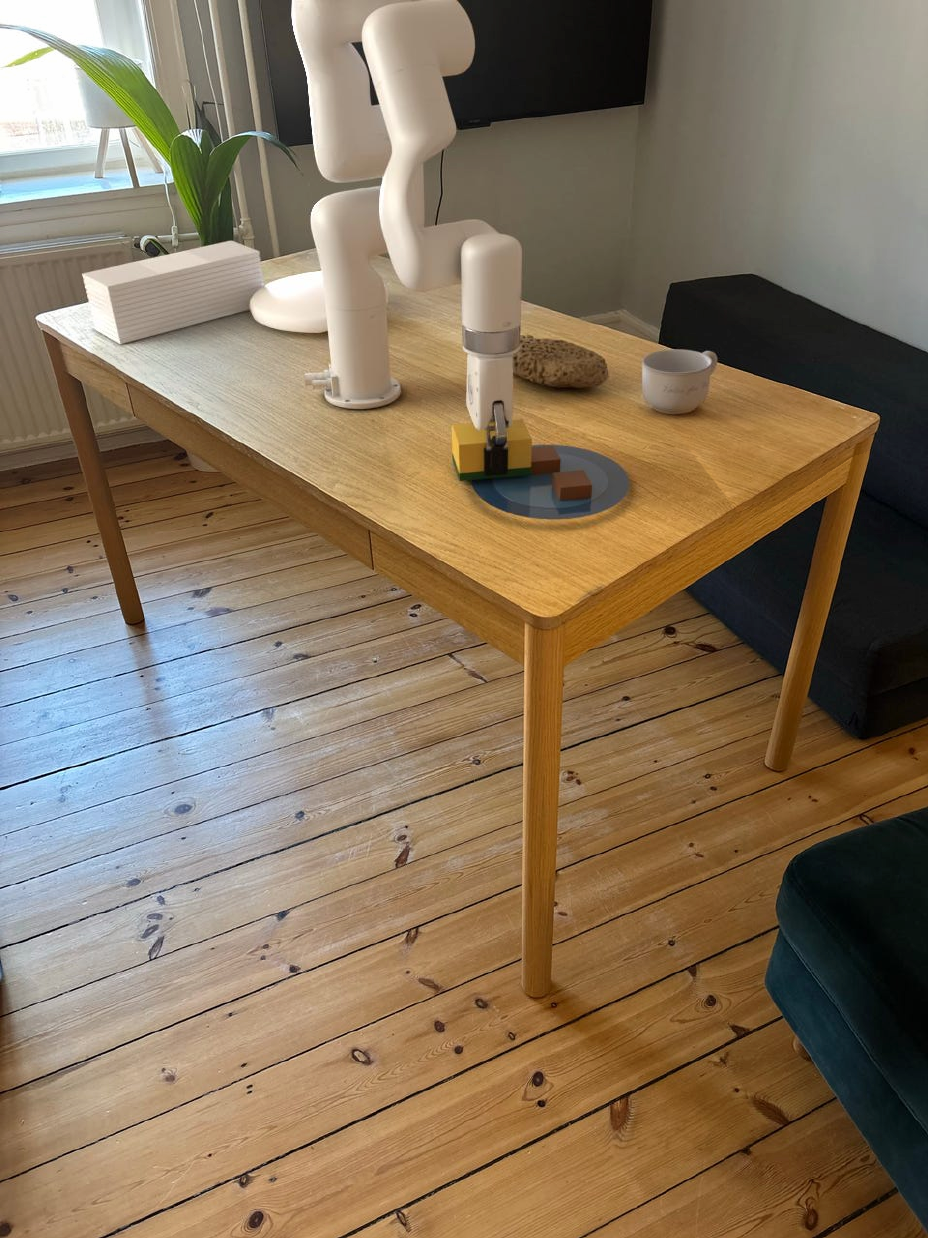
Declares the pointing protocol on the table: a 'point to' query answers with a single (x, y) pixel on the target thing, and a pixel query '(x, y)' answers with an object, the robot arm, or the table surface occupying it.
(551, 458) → the block
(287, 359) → the table surface
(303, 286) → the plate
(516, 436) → the scrub sponge
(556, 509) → the side plate
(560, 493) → the block
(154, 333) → the white long rectangular block
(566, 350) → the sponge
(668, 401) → the teacup
